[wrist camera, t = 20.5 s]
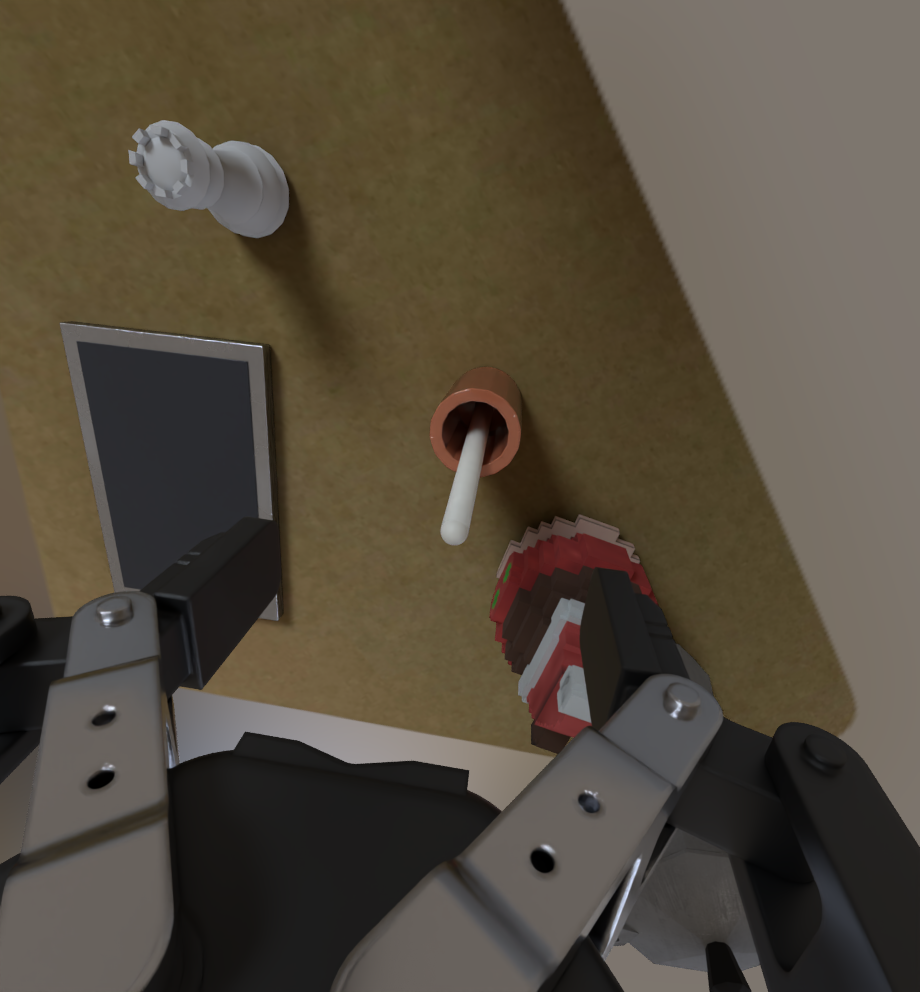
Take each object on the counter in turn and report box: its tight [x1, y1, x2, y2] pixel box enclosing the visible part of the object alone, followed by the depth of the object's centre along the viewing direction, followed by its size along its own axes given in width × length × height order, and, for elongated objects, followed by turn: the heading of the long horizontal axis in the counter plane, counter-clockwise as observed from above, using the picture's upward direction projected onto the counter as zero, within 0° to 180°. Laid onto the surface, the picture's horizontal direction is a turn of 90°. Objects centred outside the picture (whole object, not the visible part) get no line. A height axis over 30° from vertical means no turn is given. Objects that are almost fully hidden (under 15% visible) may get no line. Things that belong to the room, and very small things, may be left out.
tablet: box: [60, 321, 283, 621], centre depth 35 cm, size 20×13×1 cm, turn 174°
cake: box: [489, 514, 658, 754], centre depth 27 cm, size 11×9×18 cm
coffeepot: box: [614, 644, 760, 992], centre depth 30 cm, size 15×9×18 cm, turn 111°
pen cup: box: [430, 367, 522, 477], centre depth 28 cm, size 4×4×7 cm
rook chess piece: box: [129, 120, 289, 238], centre depth 24 cm, size 4×4×8 cm
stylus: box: [441, 402, 494, 545], centre depth 25 cm, size 1×1×13 cm
